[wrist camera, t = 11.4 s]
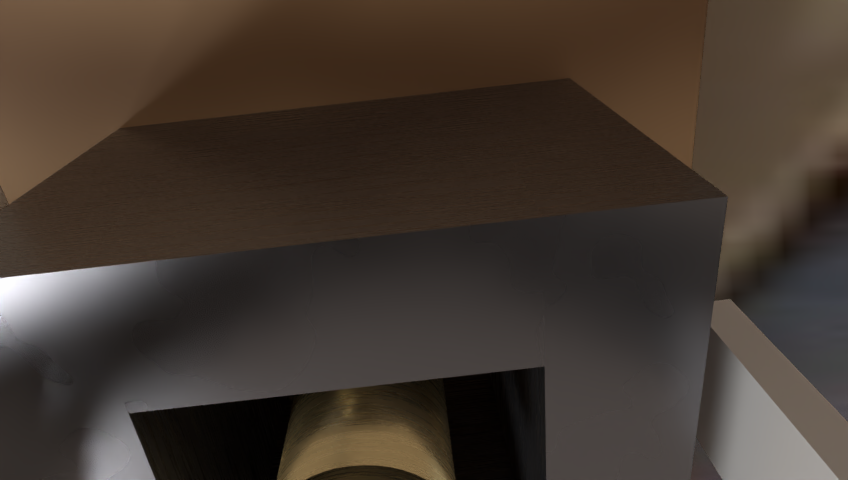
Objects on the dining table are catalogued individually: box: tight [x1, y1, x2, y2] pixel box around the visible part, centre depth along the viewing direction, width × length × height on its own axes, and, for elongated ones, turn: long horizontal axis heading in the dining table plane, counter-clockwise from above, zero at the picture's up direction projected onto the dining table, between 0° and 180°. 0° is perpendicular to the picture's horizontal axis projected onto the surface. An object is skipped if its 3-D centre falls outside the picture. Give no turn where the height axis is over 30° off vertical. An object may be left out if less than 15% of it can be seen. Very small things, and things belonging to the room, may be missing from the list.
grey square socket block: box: [0, 78, 728, 480], centre depth 13 cm, size 10×10×7 cm
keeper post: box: [277, 378, 456, 480], centre depth 12 cm, size 3×3×8 cm
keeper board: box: [0, 0, 708, 204], centre depth 17 cm, size 20×16×2 cm
